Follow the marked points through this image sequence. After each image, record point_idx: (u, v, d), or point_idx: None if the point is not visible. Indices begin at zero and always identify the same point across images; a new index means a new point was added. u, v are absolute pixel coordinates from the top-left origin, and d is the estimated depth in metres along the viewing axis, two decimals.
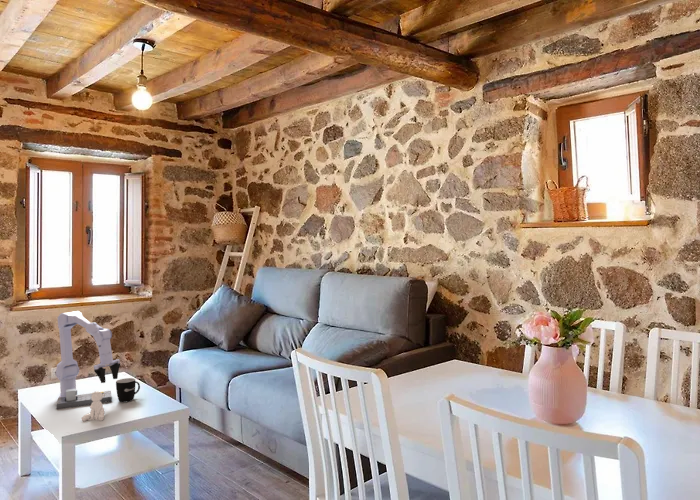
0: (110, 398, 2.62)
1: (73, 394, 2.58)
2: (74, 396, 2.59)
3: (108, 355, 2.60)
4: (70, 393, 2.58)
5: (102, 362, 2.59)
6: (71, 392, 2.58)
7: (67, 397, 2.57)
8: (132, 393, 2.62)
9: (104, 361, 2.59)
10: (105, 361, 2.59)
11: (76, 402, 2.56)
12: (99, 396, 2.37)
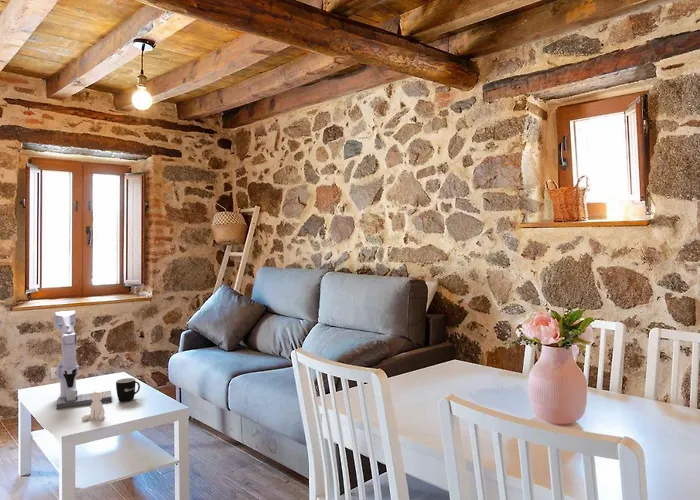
0: (110, 398, 2.62)
1: (73, 394, 2.58)
2: (74, 396, 2.59)
3: (75, 359, 2.60)
4: (70, 393, 2.58)
5: (70, 366, 2.57)
6: (71, 392, 2.58)
7: (67, 397, 2.57)
8: (132, 393, 2.62)
9: (72, 365, 2.58)
10: (73, 365, 2.58)
11: (76, 402, 2.56)
12: (99, 396, 2.37)
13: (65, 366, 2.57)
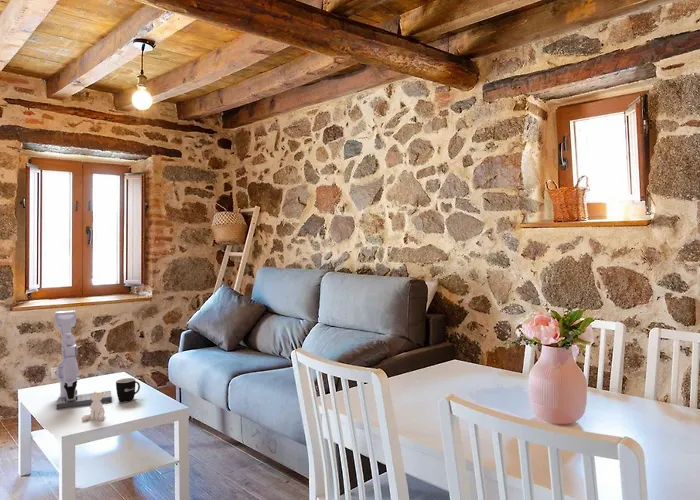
0: (110, 398, 2.62)
1: None
2: (74, 396, 2.59)
3: (76, 371, 2.60)
4: None
5: (70, 379, 2.57)
6: None
7: (67, 397, 2.57)
8: (132, 393, 2.62)
9: (73, 378, 2.58)
10: (74, 378, 2.58)
11: (76, 402, 2.56)
12: (99, 396, 2.37)
13: (65, 378, 2.57)
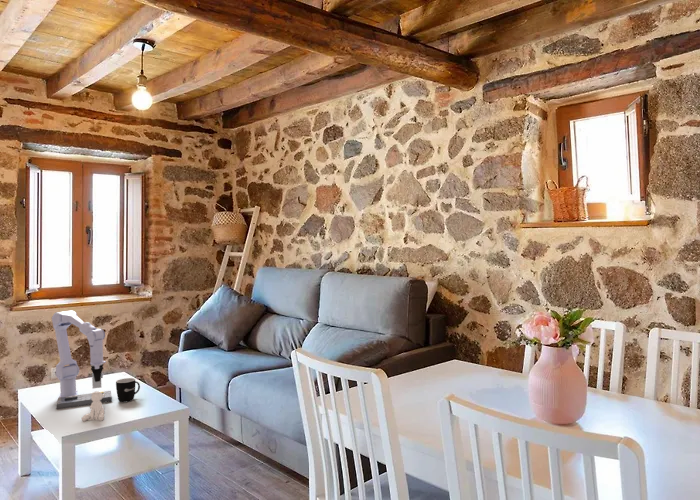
0: (110, 398, 2.62)
1: None
2: (100, 379, 2.64)
3: (102, 355, 2.65)
4: None
5: (97, 362, 2.62)
6: None
7: (93, 380, 2.62)
8: (132, 393, 2.62)
9: (99, 361, 2.63)
10: (100, 361, 2.63)
11: (76, 402, 2.56)
12: (99, 396, 2.37)
13: (92, 361, 2.62)
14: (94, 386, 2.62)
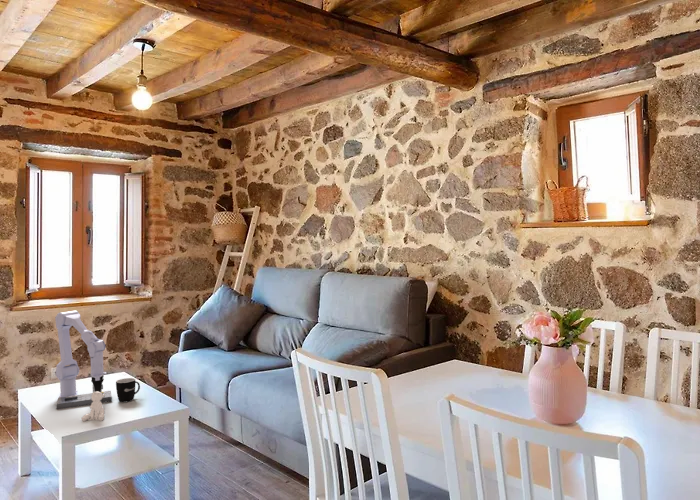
0: (110, 398, 2.62)
1: None
2: None
3: None
4: None
5: (97, 373, 2.62)
6: None
7: (93, 391, 2.62)
8: (132, 393, 2.62)
9: (100, 372, 2.63)
10: (101, 372, 2.63)
11: (76, 402, 2.56)
12: (99, 396, 2.37)
13: (93, 373, 2.62)
14: None
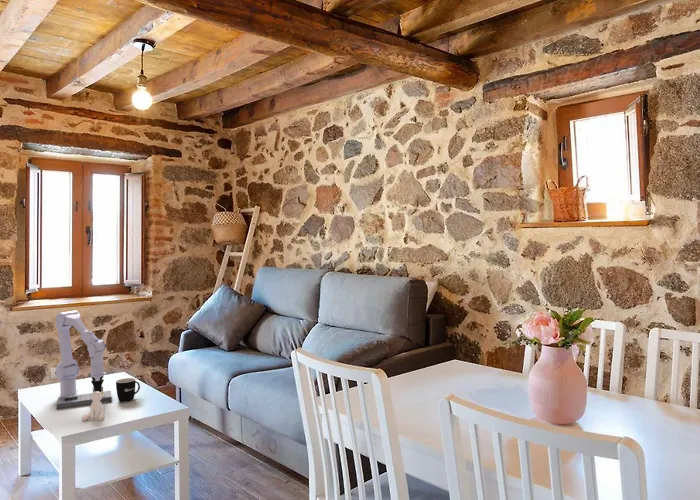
0: (110, 398, 2.62)
1: None
2: None
3: None
4: None
5: (97, 373, 2.62)
6: None
7: None
8: (132, 393, 2.62)
9: (100, 372, 2.63)
10: (101, 372, 2.63)
11: (76, 402, 2.56)
12: (99, 396, 2.37)
13: (93, 373, 2.62)
14: None
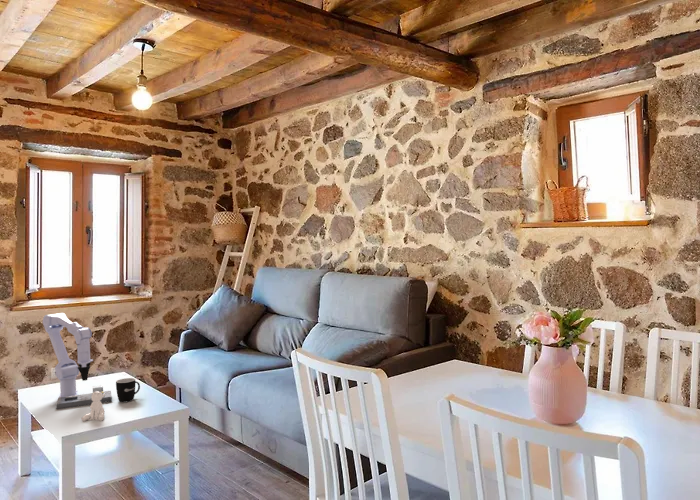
0: (110, 398, 2.62)
1: (99, 391, 2.64)
2: None
3: (89, 353, 2.68)
4: (96, 390, 2.63)
5: (84, 360, 2.65)
6: (97, 389, 2.63)
7: None
8: (132, 393, 2.62)
9: (86, 359, 2.66)
10: (87, 359, 2.66)
11: (76, 402, 2.56)
12: (99, 396, 2.37)
13: (79, 360, 2.65)
14: None
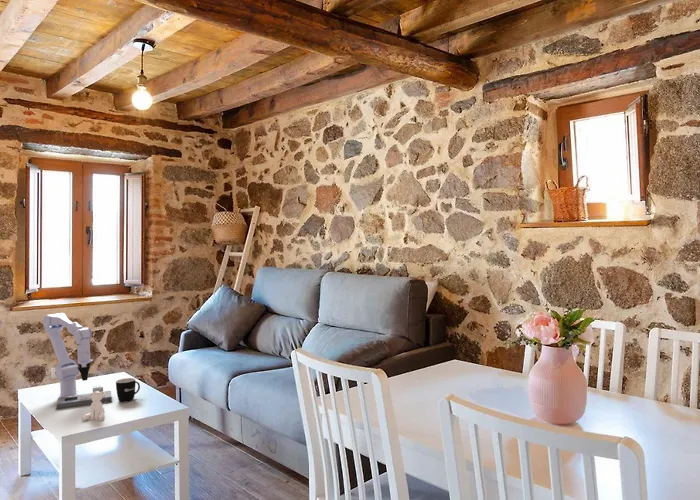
0: (110, 398, 2.62)
1: (99, 391, 2.64)
2: None
3: (89, 353, 2.68)
4: (96, 390, 2.63)
5: (84, 360, 2.65)
6: (97, 389, 2.63)
7: None
8: (132, 393, 2.62)
9: (86, 359, 2.66)
10: (87, 359, 2.66)
11: (76, 402, 2.56)
12: (99, 396, 2.37)
13: (79, 360, 2.65)
14: None
